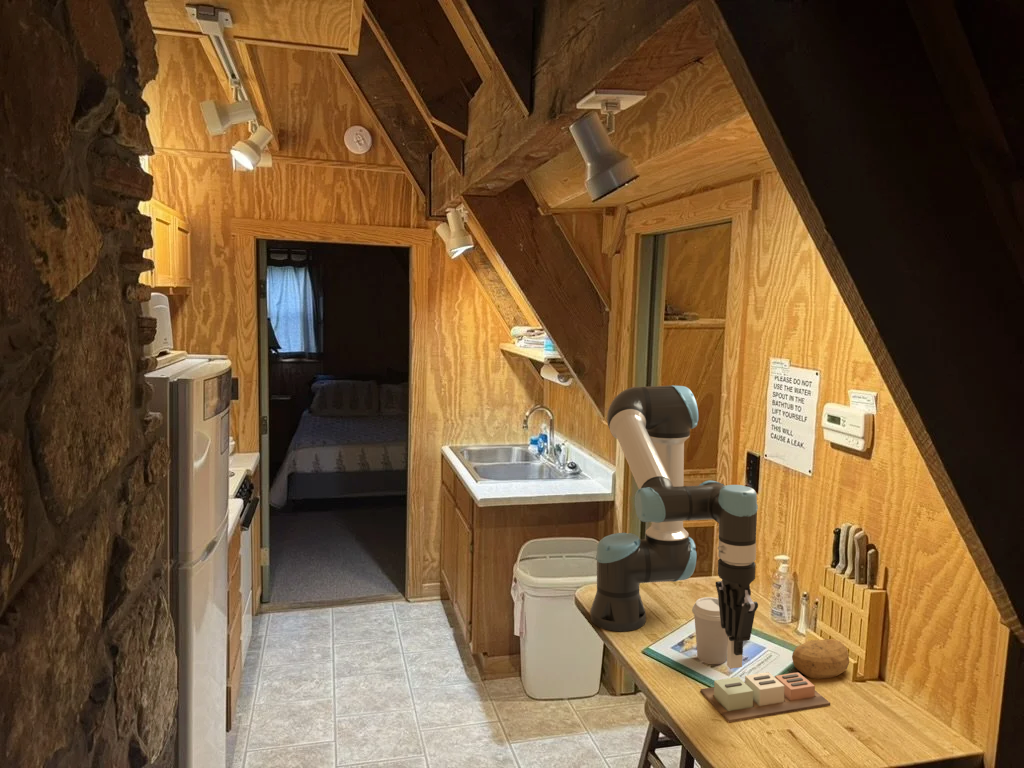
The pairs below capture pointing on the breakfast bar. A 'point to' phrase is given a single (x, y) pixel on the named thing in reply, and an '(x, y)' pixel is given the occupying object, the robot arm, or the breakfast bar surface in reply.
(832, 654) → the potato
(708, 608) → the coffee cup
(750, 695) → the slotted block
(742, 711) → the board
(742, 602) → the robot arm
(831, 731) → the breakfast bar surface
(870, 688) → the breakfast bar surface
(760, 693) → the tile
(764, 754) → the breakfast bar surface
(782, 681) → the tile
